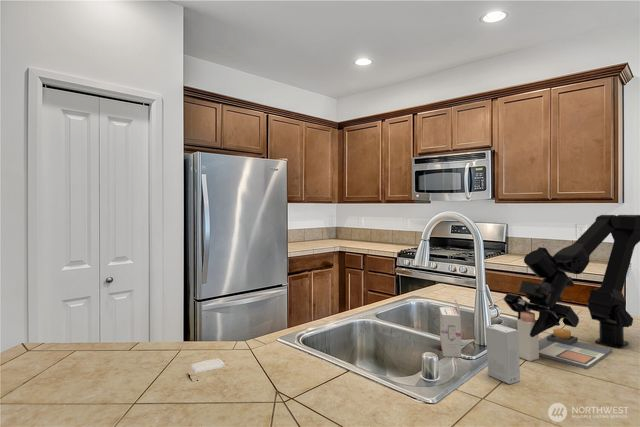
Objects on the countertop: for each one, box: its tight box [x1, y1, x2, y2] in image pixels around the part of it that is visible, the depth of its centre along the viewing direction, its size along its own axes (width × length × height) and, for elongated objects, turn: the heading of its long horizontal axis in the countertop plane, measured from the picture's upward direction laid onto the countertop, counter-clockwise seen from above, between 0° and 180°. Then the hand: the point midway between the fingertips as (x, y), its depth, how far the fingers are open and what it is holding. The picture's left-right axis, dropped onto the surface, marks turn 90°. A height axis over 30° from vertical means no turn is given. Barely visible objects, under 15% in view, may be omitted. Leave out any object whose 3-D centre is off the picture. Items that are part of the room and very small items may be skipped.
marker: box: [516, 311, 540, 362], centre depth 102 cm, size 4×4×12 cm
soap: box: [189, 357, 226, 373], centre depth 97 cm, size 9×7×3 cm
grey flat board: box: [539, 333, 613, 370], centre depth 107 cm, size 18×16×2 cm
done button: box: [552, 328, 572, 339], centre depth 113 cm, size 4×4×2 cm
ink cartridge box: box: [439, 297, 462, 358], centre depth 108 cm, size 9×5×15 cm, turn 168°
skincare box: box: [485, 323, 521, 385], centre depth 91 cm, size 6×4×12 cm
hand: (524, 333), depth 102 cm, fingers closed on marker, 4 cm apart
